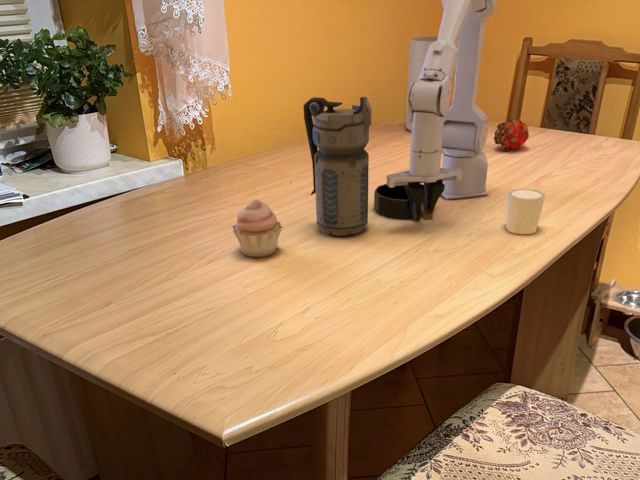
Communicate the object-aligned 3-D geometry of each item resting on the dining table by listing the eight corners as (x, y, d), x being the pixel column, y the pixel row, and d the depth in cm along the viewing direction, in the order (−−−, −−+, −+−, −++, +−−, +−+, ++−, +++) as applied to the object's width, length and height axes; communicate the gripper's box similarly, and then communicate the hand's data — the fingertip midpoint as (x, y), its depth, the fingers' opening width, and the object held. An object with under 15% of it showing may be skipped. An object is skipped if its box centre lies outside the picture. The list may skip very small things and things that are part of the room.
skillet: (368, 203, 139) (368, 185, 137) (419, 197, 141) (420, 179, 139) (398, 236, 122) (399, 216, 120) (456, 229, 125) (458, 210, 122)
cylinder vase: (404, 133, 191) (408, 41, 178) (406, 124, 201) (411, 36, 188) (447, 134, 189) (454, 41, 176) (447, 124, 199) (453, 36, 186)
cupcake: (243, 265, 113) (237, 211, 108) (228, 247, 120) (222, 195, 115) (292, 255, 116) (289, 202, 111) (274, 238, 123) (271, 187, 118)
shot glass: (540, 224, 126) (546, 189, 122) (538, 237, 120) (544, 201, 117) (504, 221, 128) (509, 187, 124) (501, 233, 122) (506, 198, 119)
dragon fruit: (493, 159, 171) (516, 156, 179) (520, 144, 164) (542, 142, 172) (482, 129, 171) (506, 128, 179) (508, 113, 164) (532, 112, 172)
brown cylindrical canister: (321, 215, 133) (318, 88, 120) (379, 224, 128) (382, 92, 115) (296, 231, 126) (290, 98, 113) (356, 242, 120) (357, 103, 107)
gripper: (396, 158, 114) (393, 230, 121) (471, 151, 116) (464, 221, 124) (383, 148, 120) (381, 217, 127) (455, 142, 122) (449, 210, 129)
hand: (421, 218), depth 126 cm, fingers closed on skillet, 2 cm apart
